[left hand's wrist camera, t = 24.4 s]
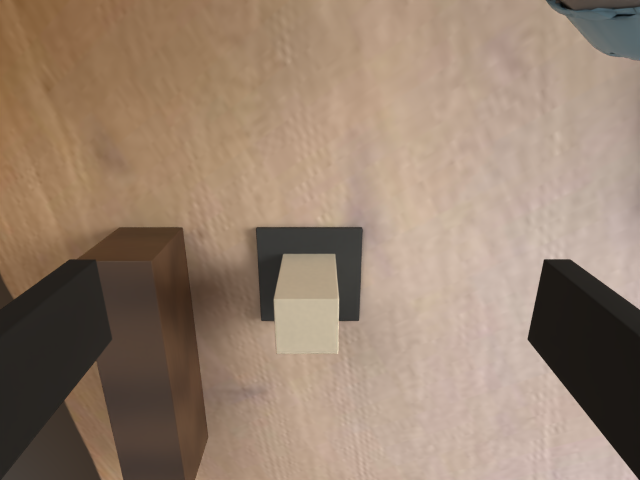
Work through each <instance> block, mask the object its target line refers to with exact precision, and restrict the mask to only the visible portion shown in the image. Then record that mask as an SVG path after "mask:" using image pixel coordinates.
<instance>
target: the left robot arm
mask: <svg viewBox="0 0 640 480" xmlns="http://www.w3.org/2000/svg"><path fill="white" fill-rule="evenodd" d="M546 1H547V3H548V4H549V5H550V6H551V8H553V9H554V10H555V11H557V12H558V13H560V14H563V15H565V16H566V17H567V18H568V19H569V20H570V21H571V22H572V24H573V25H574V26H575V27H576V28H577V29H578V30H579V31H580V33H581V34H582V35H583V36H584V37H585V38H586V39H587V41H588V42H589V43H590V44H591V45H592V46H593V47H595V48H596V49H598V50H599V51H601V52H603V53H605V54H607V55H609V56H615V57H625V58H629V59H632V60H640V0H546ZM111 341H112V335H111V330H110V325H109V320H108V315H107V311H106V306H105V301H104V296H103V291H102V286H101V282H100V277H99V272H98V267H97V262H96V259H70V260H68V261H67V262H66V263H64V264H63V265H61V266H60V267H59V268H57V269H56V270H55V271H53V272H52V273H50V274H49V275H48V276H46V277H45V278H43V279H42V280H41V281H39V282H38V283H37V284H35V285H34V286H32V287H31V288H30V289H28V290H27V291H25V292H24V293H23V294H21V295H20V296H19V297H17V298H16V299H14V300H13V301H12V302H10V303H9V304H8V305H6V306H5V307H3V308H2V309H1V310H0V480H1V479H2V478H3V477H4V475H5V474H6V473H7V471H8V470H9V469H10V468H11V466H12V465H13V464H14V463H15V461H16V460H17V459H18V458H19V456H20V455H21V454H22V453H23V451H24V450H25V449H26V448H27V446H28V445H29V444H30V442H31V441H32V440H33V439H34V437H35V436H36V435H37V434H38V433H39V431H40V430H41V429H42V427H43V426H44V425H45V424H46V422H47V421H48V420H49V419H50V417H51V416H52V415H53V414H54V412H55V411H56V410H57V409H58V407H59V406H60V405H61V404H62V402H63V401H64V400H65V399H66V397H67V396H68V395H69V394H70V392H71V391H72V390H73V388H74V387H75V386H76V385H77V383H78V382H79V381H80V380H81V378H82V377H83V376H84V375H85V373H86V372H87V371H88V370H89V368H90V367H91V366H92V365H93V363H94V362H95V361H96V360H97V358H98V357H99V356H100V355H101V353H102V352H103V351H104V349H105V348H106V347H107V346H108V344H109V343H110V342H111ZM528 341H529V342H530V343H531V344H532V346H533V347H534V348H535V349H536V351H537V352H538V353H539V355H540V356H541V357H542V358H543V360H544V361H545V362H546V363H547V365H548V366H549V367H550V368H551V370H552V371H553V372H554V373H555V375H556V376H557V377H558V378H559V380H560V381H561V382H562V383H563V385H564V386H565V387H566V388H567V390H568V391H569V392H570V394H571V395H572V396H573V397H574V399H575V400H576V401H577V402H578V404H579V405H580V406H581V407H582V409H583V410H584V411H585V412H586V414H587V415H588V416H589V417H590V419H591V420H592V421H593V422H594V424H595V425H596V426H597V427H598V429H599V430H600V431H601V433H602V434H603V435H604V436H605V438H606V439H607V440H608V441H609V443H610V444H611V445H612V446H613V448H614V449H615V450H616V451H617V453H618V454H619V455H620V456H621V458H622V459H623V460H624V461H625V463H626V464H627V465H628V466H629V468H630V469H631V470H632V472H633V473H634V474H635V475H636V477H637V478H638V479H639V480H640V310H639V309H638V308H637V307H635V306H634V305H632V304H631V303H630V302H628V301H627V300H626V299H624V298H623V297H621V296H620V295H619V294H617V293H616V292H615V291H613V290H612V289H610V288H609V287H608V286H606V285H605V284H603V283H602V282H601V281H599V280H598V279H597V278H595V277H594V276H592V275H591V274H590V273H588V272H587V271H585V270H584V269H583V268H581V267H580V266H579V265H577V264H576V263H574V262H573V261H572V260H570V259H544V262H543V267H542V272H541V277H540V282H539V286H538V291H537V296H536V301H535V306H534V311H533V315H532V320H531V325H530V330H529V335H528Z"/></svg>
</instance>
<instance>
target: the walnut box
mask: <svg viewBox="0 0 640 480" xmlns="http://www.w3.org/2000/svg"><path fill="white" fill-rule="evenodd" d="M78 259H96V262H97V267H98V272H99V277H100V282H101V286H102V291H103V296H104V301H105V306H106V311H107V315H108V320H109V325H110V330H111V335H112V341H111V342H110V343H109V344H108V346H107V347H106V348H105V349H104V351H103V352H102V353H101V355H100V356H99V357H98V358H97V360H96V361H97V365H98V370H99V374H100V378H101V383H102V387H103V392H104V396H105V401H106V405H107V409H108V414H109V418H110V423H111V427H112V431H113V436H114V440H115V445H116V449H117V453H118V458H119V462H120V467H121V471H122V476H123V480H195V478H196V475H197V471H198V468H199V465H200V462H201V459H202V455H203V452H204V449H205V446H206V443H207V439H208V432H207V424H206V416H205V407H204V399H203V391H202V383H201V375H200V367H199V359H198V350H197V342H196V334H195V326H194V318H193V310H192V301H191V293H190V285H189V277H188V269H187V261H186V252H185V244H184V236H183V228H118V229H117V230H116V231H114V232H113V233H112V234H110V235H109V236H108V237H106V238H105V239H104V240H102V241H101V242H100V243H98V244H97V245H95V246H94V247H93V248H91V249H90V250H89V251H87V252H86V253H85V254H83V255H82V256H81V257H79V258H78Z"/></svg>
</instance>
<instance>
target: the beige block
mask: <svg viewBox="0 0 640 480" xmlns="http://www.w3.org/2000/svg"><path fill="white" fill-rule="evenodd" d="M274 319H275V341H276V354H338V335H339V293H338V282H337V270H336V258H335V254H283V257H282V262H281V267H280V272H279V277H278V281H277V286H276V291H275V296H274Z"/></svg>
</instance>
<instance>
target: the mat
mask: <svg viewBox="0 0 640 480" xmlns="http://www.w3.org/2000/svg"><path fill="white" fill-rule="evenodd" d="M362 230H363V229H362V227H257V229H256V235H257V252H258V269H259V287H260V304H261V320H262V321H275V319H274V296H275V291H276V286H277V281H278V277H279V272H280V267H281V262H282V257H283V254H335V258H336V270H337V282H338V293H339V321H359V308H360V282H361V256H362Z"/></svg>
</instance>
